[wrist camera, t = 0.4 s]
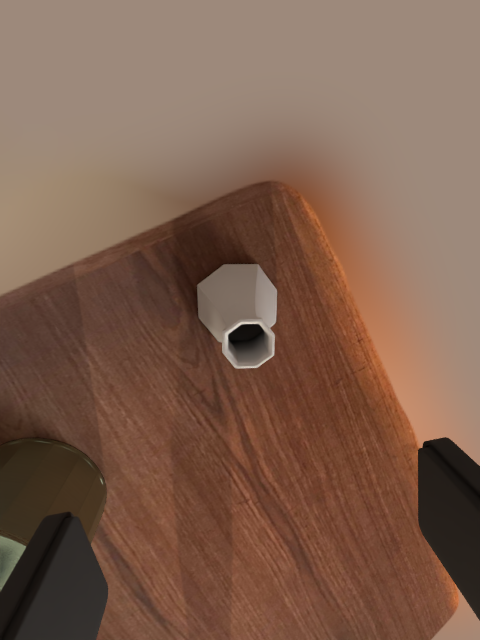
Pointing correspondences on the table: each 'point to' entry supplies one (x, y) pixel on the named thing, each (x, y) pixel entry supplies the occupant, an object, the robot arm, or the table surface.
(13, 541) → the pot lid
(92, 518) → the pot
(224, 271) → the flask
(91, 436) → the table surface
